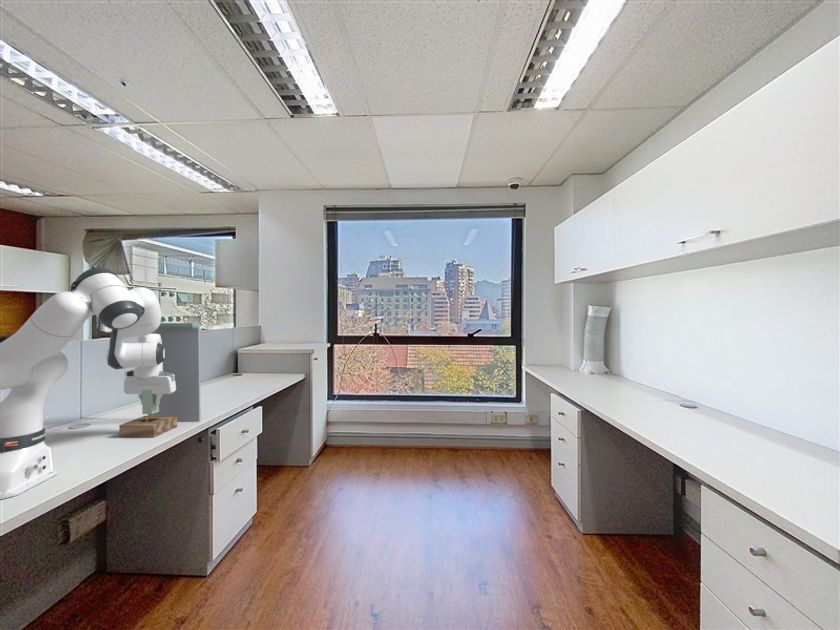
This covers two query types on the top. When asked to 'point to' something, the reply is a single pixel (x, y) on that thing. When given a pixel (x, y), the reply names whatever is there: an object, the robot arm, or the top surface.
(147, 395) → the peg
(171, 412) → the tall box with lid
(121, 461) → the top surface
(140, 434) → the socket block
